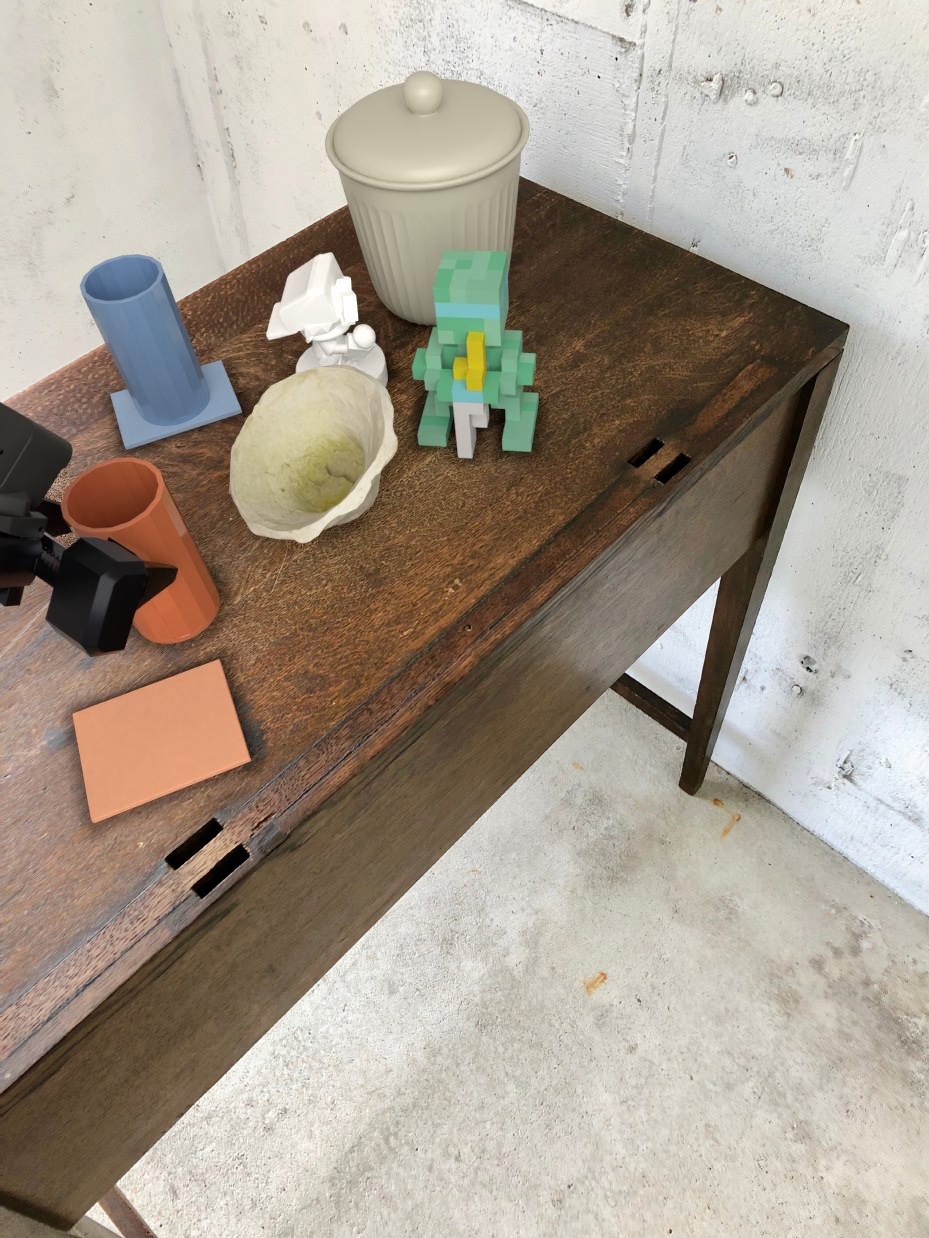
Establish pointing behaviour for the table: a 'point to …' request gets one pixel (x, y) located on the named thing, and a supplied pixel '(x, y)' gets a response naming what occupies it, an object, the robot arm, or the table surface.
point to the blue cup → (146, 338)
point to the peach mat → (158, 740)
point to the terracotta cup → (146, 541)
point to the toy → (474, 357)
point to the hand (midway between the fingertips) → (131, 545)
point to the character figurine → (326, 319)
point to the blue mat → (144, 432)
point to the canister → (428, 180)
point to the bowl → (312, 452)
